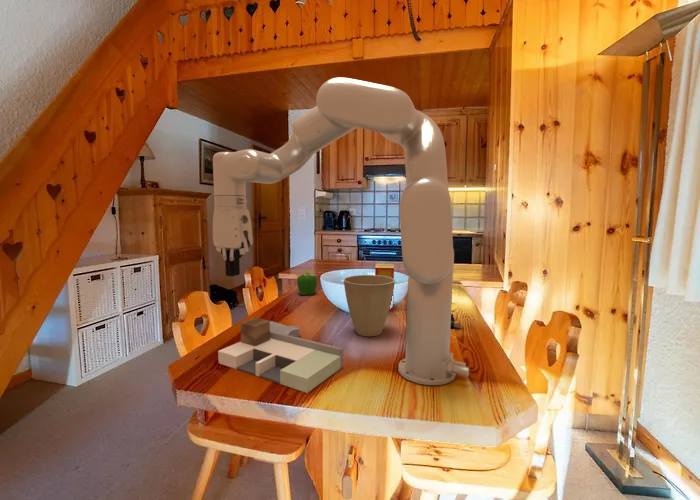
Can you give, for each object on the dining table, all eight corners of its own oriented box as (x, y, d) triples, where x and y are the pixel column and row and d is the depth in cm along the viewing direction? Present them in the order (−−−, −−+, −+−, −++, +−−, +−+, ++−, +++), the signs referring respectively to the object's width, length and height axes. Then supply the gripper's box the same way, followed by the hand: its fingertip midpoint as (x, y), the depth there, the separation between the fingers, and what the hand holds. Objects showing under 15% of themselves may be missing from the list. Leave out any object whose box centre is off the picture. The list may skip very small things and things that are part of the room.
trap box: (342, 366, 82) (342, 348, 81) (307, 393, 70) (306, 371, 70) (260, 344, 95) (259, 328, 94) (218, 363, 83) (217, 344, 83)
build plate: (428, 331, 107) (428, 316, 107) (423, 323, 114) (424, 309, 114) (469, 331, 107) (470, 317, 106) (462, 324, 114) (462, 310, 114)
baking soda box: (393, 311, 125) (394, 267, 123) (374, 310, 126) (375, 266, 124) (392, 304, 135) (393, 262, 133) (375, 303, 135) (376, 262, 134)
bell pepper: (314, 297, 145) (314, 273, 143) (294, 296, 146) (294, 272, 145) (319, 292, 153) (319, 269, 152) (301, 291, 154) (301, 268, 153)
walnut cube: (270, 339, 90) (269, 320, 89) (255, 346, 86) (255, 326, 85) (255, 336, 92) (255, 317, 92) (241, 342, 88) (240, 322, 88)
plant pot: (402, 329, 107) (403, 278, 105) (378, 345, 94) (379, 287, 92) (360, 320, 115) (360, 272, 113) (333, 334, 103) (333, 280, 101)
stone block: (271, 335, 107) (248, 339, 98) (273, 319, 107) (250, 322, 98) (304, 344, 101) (282, 349, 93) (306, 327, 102) (285, 331, 93)
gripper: (263, 203, 88) (264, 276, 90) (222, 203, 96) (224, 270, 98) (239, 203, 82) (242, 281, 84) (198, 203, 89) (201, 274, 91)
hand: (232, 275), depth 91 cm, fingers closed
